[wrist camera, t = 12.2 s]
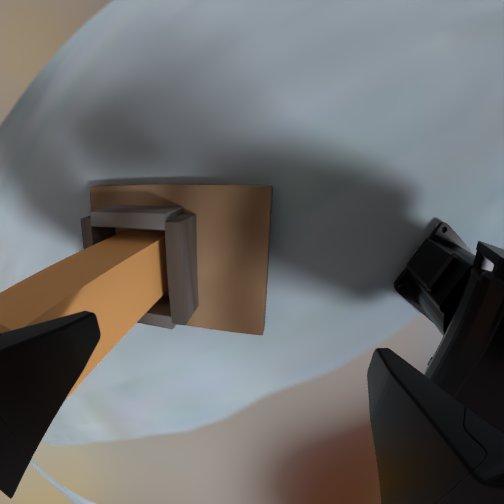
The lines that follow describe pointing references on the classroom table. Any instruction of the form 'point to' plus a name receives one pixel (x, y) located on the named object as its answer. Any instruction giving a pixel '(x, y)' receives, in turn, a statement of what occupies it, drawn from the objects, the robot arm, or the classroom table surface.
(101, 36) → the classroom table surface
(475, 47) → the classroom table surface
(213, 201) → the keeper
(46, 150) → the classroom table surface
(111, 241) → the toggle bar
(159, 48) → the classroom table surface
